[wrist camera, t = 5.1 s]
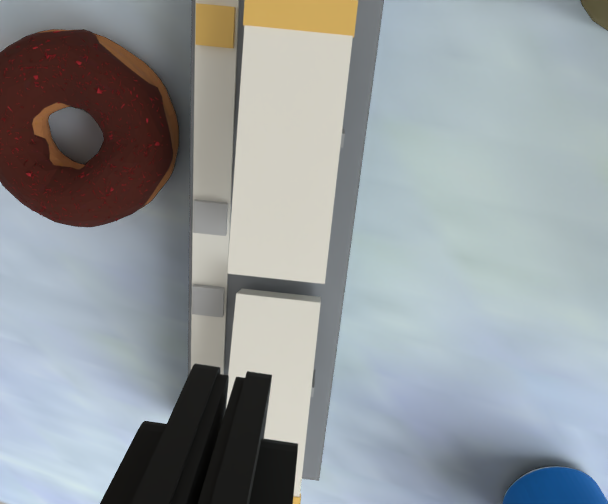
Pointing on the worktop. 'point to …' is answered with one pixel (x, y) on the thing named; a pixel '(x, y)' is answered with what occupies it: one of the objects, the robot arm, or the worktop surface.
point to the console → (219, 192)
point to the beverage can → (554, 488)
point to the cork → (597, 11)
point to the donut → (106, 112)
